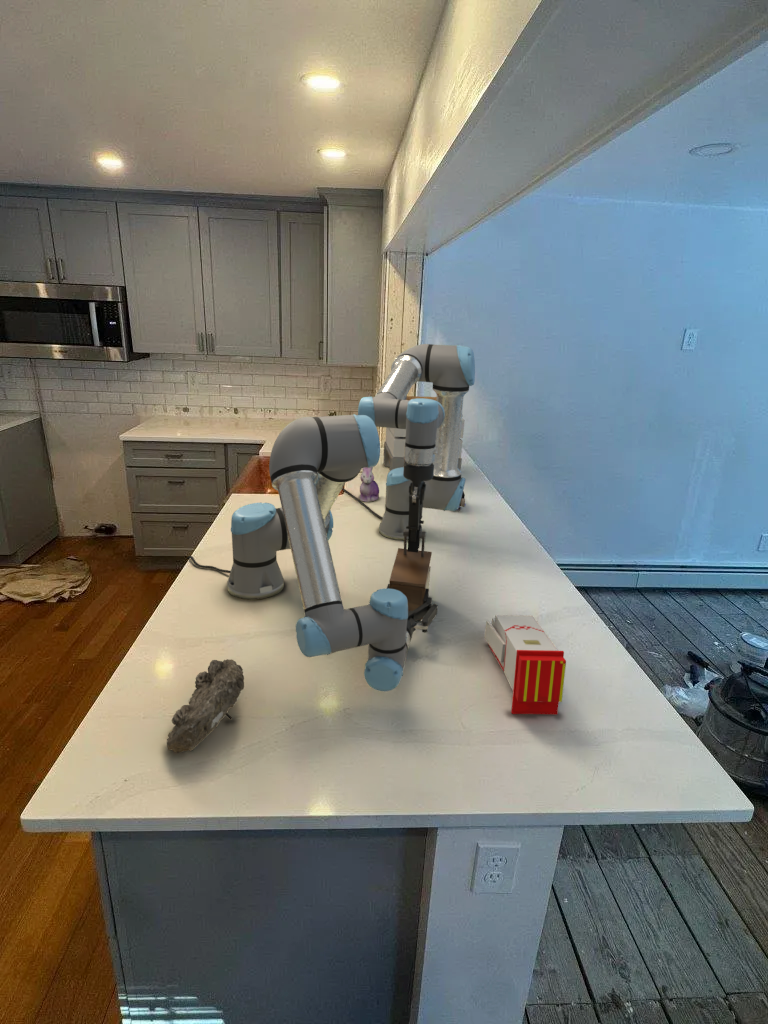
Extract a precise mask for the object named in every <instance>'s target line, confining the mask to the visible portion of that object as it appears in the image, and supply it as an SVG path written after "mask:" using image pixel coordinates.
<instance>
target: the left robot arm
mask: <svg viewBox="0 0 768 1024" xmlns="http://www.w3.org/2000/svg"><path fill="white" fill-rule="evenodd" d="M380 441H381V440H380V434H379V432H378V427H376V426H375V423H374V422H373V420H372V419H371V418H370V417H368V416H366V415H358V414H355V413H353V414H346V415H345V414H344V415H329V416H327V415H326V416H325V415H324V416H303V417H299V418H296V419H294V420H293V421H291V422H289V423H288V424H287V425H286V426H284V427H283V429H282V430H281V431H280V433H279V434H278V435H277V437H276V439H275V441H274V443H273V445H272V449H271V452H270V455H269V465H268V468H269V469H268V470H269V477H270V483H271V487H272V488H273V489H274V490H275V491H277V492H278V497H279V502H280V506H281V507H275V505H274V504H272V503H270V502H252V503H248V504H245V505H243V506H240V507H239V508H237V509H236V510H234V511H233V513H232V515H231V519H230V521H231V522H230V533H231V545H232V547H231V548H232V565H231V568H230V570H228V569H222V568H218V567H216V566H213V565H205V564H204V565H203V564H200V563H198V561H196V559H195V558H194V557H193V556H192V555H188V556H187V557H186V559H187V560H190V559H191V561H192V563H193V564H194V565H195V566H196V567H198V568H201V569H210V570H211V569H212V570H215V571H217V572H220V573H226V574H229V575H228V579H227V582H226V584H227V591H228V593H229V594H230V595H231V596H233V597H235V598H238V599H243V600H250V601H251V600H252V601H253V600H263V599H267V598H271V597H273V596H276V595H277V594H280V592H282V590H283V589H284V588H285V587H284V586H285V582H284V581H285V580H284V576H283V573H282V571H281V568H280V565H279V563H278V559H277V553H278V552H279V551H280V552H281V551H286V550H290V552H291V557H292V561H293V566H294V570H295V575H296V580H297V585H298V591H299V594H300V598H301V603H302V609H303V613H304V616H303V617H300V618H299V619H298V620H297V621H296V623H295V633H296V634H295V639H296V642H297V646H298V649H299V651H300V652H301V654H302V655H303V656H304V657H306V658H314V657H319V656H325V655H327V656H330V655H331V654H335V653H338V652H341V651H342V652H343V651H345V650H346V651H347V650H349V649H353V648H358V647H363V646H364V647H365V646H367V645H368V652H367V653H368V654H367V660H366V662H365V664H364V671H363V676H364V677H363V678H364V680H365V683H366V684H367V685H368V686H369V687H371V688H372V689H373V690H375V691H378V692H390V691H393V690H395V689H396V688H397V687H398V686H399V685H400V682H401V680H402V677H403V676H404V669H405V664H406V661H407V656H408V653H409V650H410V649H409V648H410V645H411V641H412V637H413V634H414V632H415V631H416V630H421V632H422V633H424V634H426V633H428V631H429V630H428V629H429V625H431V623H432V622H433V621H434V620H435V618H436V616H437V614H438V607H439V606H438V604H437V603H432V602H433V601H432V600H433V598H432V597H430V588H429V589H426V591H425V595H424V599H423V604H422V605H421V606H419V607H418V608H416V609H415V610H413V611H409V612H408V601H407V597H406V596H405V595H404V594H403V593H402V592H400V591H398V590H395V589H389V584H390V583H388V584H387V586H386V587H385V588H379V589H377V590H376V591H373V592H372V593H371V594H370V598H369V601H368V604H364V605H359V606H353V607H349V608H344V604H343V599H342V595H341V590H340V587H339V581H338V578H337V574H336V570H335V564H334V560H333V556H332V553H331V551H332V550H331V546H330V543H329V541H330V539H331V537H332V535H333V529H334V517H333V512H332V511H331V509H332V507H333V505H334V503H335V502H336V500H337V499H338V496H339V495H340V493H341V491H343V490H342V488H344V486H345V485H346V483H348V482H351V481H353V480H355V479H356V478H357V477H358V475H359V474H360V472H361V470H363V469H362V468H366V467H367V468H370V467H373V468H374V467H376V466H377V465H378V463H379V461H380V457H381V443H380ZM422 617H423V619H421V618H422ZM419 619H421V621H419ZM418 621H419V622H418Z"/></svg>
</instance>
